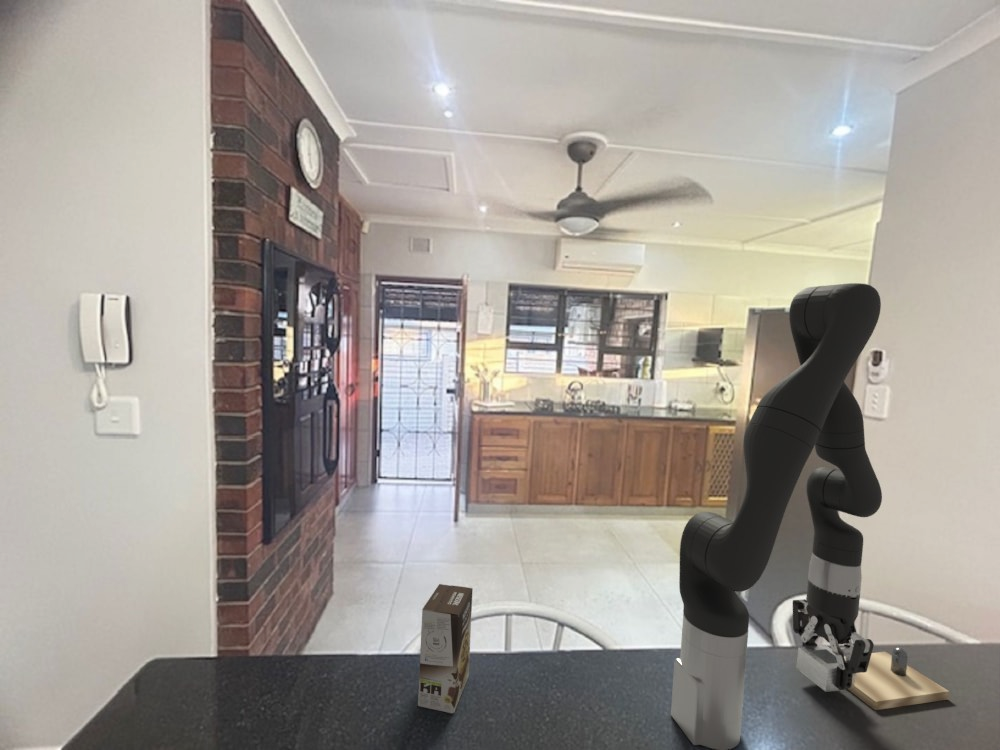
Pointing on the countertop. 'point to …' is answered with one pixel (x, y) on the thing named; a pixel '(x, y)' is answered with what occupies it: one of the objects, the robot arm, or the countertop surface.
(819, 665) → the steel link
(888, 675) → the plate
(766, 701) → the countertop surface
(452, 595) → the coffee box
